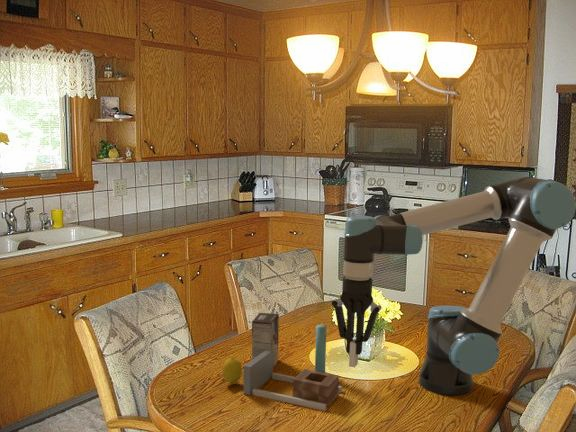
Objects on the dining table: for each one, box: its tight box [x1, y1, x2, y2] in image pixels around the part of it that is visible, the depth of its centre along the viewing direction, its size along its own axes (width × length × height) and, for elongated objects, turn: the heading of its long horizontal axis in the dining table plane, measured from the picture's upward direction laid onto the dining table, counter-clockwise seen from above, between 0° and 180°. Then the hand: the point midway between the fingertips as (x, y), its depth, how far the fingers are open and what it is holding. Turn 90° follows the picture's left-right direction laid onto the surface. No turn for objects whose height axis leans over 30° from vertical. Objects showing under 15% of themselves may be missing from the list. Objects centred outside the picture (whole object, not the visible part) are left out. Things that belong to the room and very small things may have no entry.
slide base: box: [243, 349, 343, 412], centre depth 167 cm, size 25×15×9 cm, turn 65°
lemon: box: [221, 356, 243, 385], centre depth 174 cm, size 6×6×8 cm
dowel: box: [314, 324, 327, 373], centre depth 178 cm, size 3×3×16 cm
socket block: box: [292, 368, 340, 408], centre depth 164 cm, size 10×8×6 cm
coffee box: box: [251, 312, 280, 369], centre depth 185 cm, size 9×6×16 cm
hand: (353, 365), depth 159 cm, fingers closed
